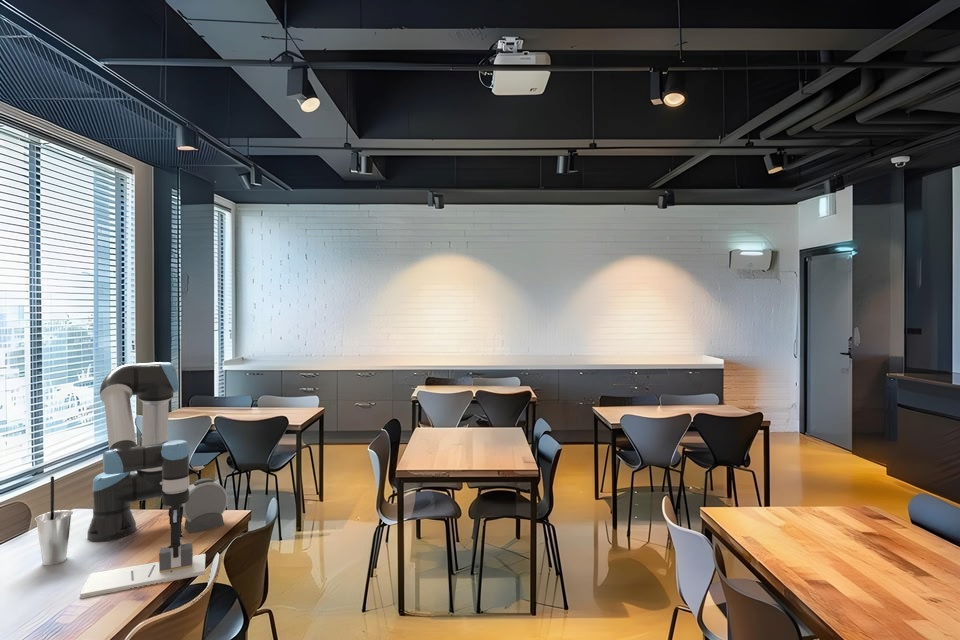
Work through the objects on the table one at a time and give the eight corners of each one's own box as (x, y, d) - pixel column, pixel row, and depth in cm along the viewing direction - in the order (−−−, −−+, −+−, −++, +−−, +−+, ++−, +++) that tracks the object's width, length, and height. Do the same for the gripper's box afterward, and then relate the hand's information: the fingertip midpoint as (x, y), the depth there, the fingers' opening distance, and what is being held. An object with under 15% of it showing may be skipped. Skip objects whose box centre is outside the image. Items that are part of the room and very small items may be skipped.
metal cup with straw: (53, 570, 174) (52, 477, 173) (24, 567, 176) (23, 475, 176) (84, 556, 184) (83, 467, 184) (56, 553, 186) (55, 466, 186)
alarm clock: (222, 517, 219) (221, 472, 219) (230, 524, 212) (230, 477, 212) (177, 528, 208) (177, 480, 208) (184, 535, 201) (184, 486, 201)
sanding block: (160, 566, 173) (160, 547, 173) (192, 560, 177) (192, 542, 177) (159, 573, 169) (159, 553, 168) (192, 566, 173) (191, 548, 172)
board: (90, 577, 169) (90, 573, 169) (205, 557, 182) (205, 553, 182) (80, 598, 156) (80, 594, 156) (204, 574, 170) (204, 570, 170)
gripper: (164, 484, 179) (165, 554, 179) (159, 500, 163) (160, 577, 163) (190, 481, 182) (190, 549, 183) (188, 496, 166) (188, 572, 166)
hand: (176, 562), depth 173 cm, fingers closed on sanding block, 5 cm apart
